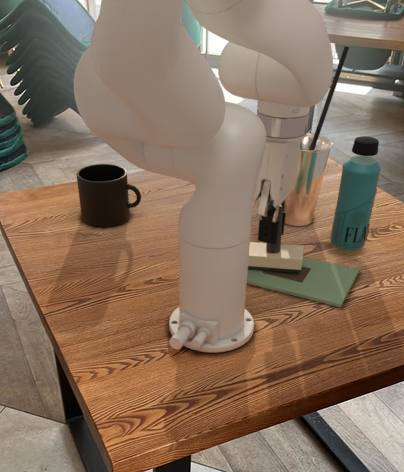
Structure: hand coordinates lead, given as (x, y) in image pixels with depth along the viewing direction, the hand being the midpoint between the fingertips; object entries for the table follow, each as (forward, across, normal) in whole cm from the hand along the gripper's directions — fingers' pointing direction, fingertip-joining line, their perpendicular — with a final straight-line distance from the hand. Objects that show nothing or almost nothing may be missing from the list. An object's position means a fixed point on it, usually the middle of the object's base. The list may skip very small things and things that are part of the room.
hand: (270, 236), depth 95 cm
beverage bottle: (+6, -13, +11) cm, 18 cm away
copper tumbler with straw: (+6, -22, -1) cm, 23 cm away
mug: (+6, -5, -34) cm, 35 cm away
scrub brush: (+5, 0, +1) cm, 5 cm away
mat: (+6, 0, +4) cm, 7 cm away
